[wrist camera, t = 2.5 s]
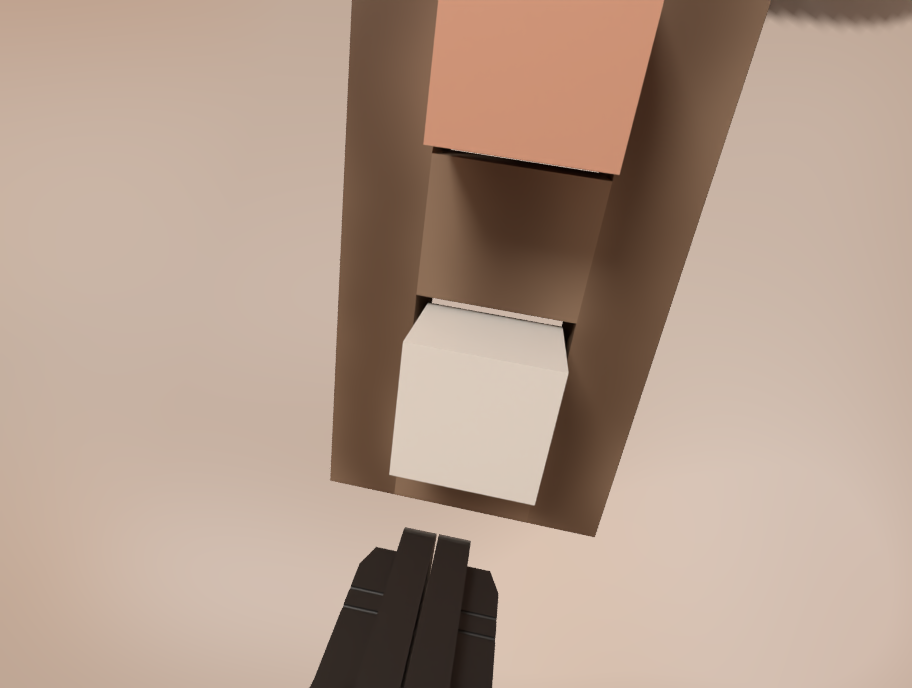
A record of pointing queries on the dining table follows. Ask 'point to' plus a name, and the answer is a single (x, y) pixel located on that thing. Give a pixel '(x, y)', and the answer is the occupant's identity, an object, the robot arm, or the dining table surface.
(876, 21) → the dining table surface
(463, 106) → the terracotta button
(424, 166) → the button panel
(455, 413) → the white button
